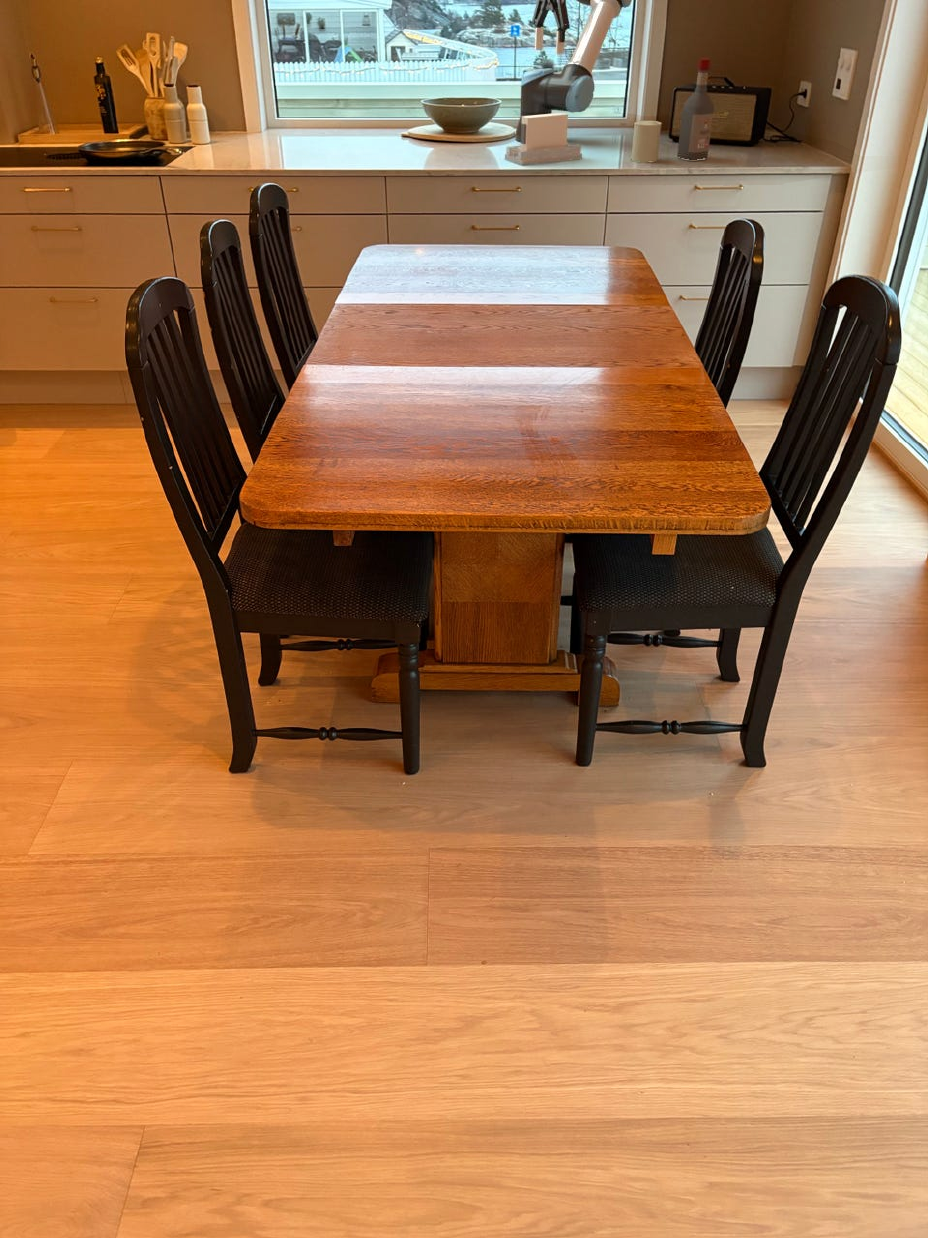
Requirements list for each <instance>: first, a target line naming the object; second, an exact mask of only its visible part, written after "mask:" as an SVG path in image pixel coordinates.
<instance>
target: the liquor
mask: <svg viewBox="0 0 928 1238" xmlns="http://www.w3.org/2000/svg"><path fill="white" fill-rule="evenodd" d="M710 65H711V58H708V57H707V58H706V57H704V58H703V57H702V58H699V60H698V68H697V70H698V71H697V72H698V73H697V79H696V86H695V88H694V92H693V93H692V94H691V95H690V96H689V97H688V99H687V100H685V102H684V104H683V106H682V113H681V124H680V131H679V136H678V137H679V139H678V146H677V158H678V157H680V158H684V159H689V160H697V159H703V158H706V159H707V158H708V154H709V148H710V147H709V146H710V140H711V132H712V125H713V118H714V111H715V104H714V101H713V99H712V98H711V97H710V95H709V93H708V88H707V85H708V78H709V71H710Z"/></svg>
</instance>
